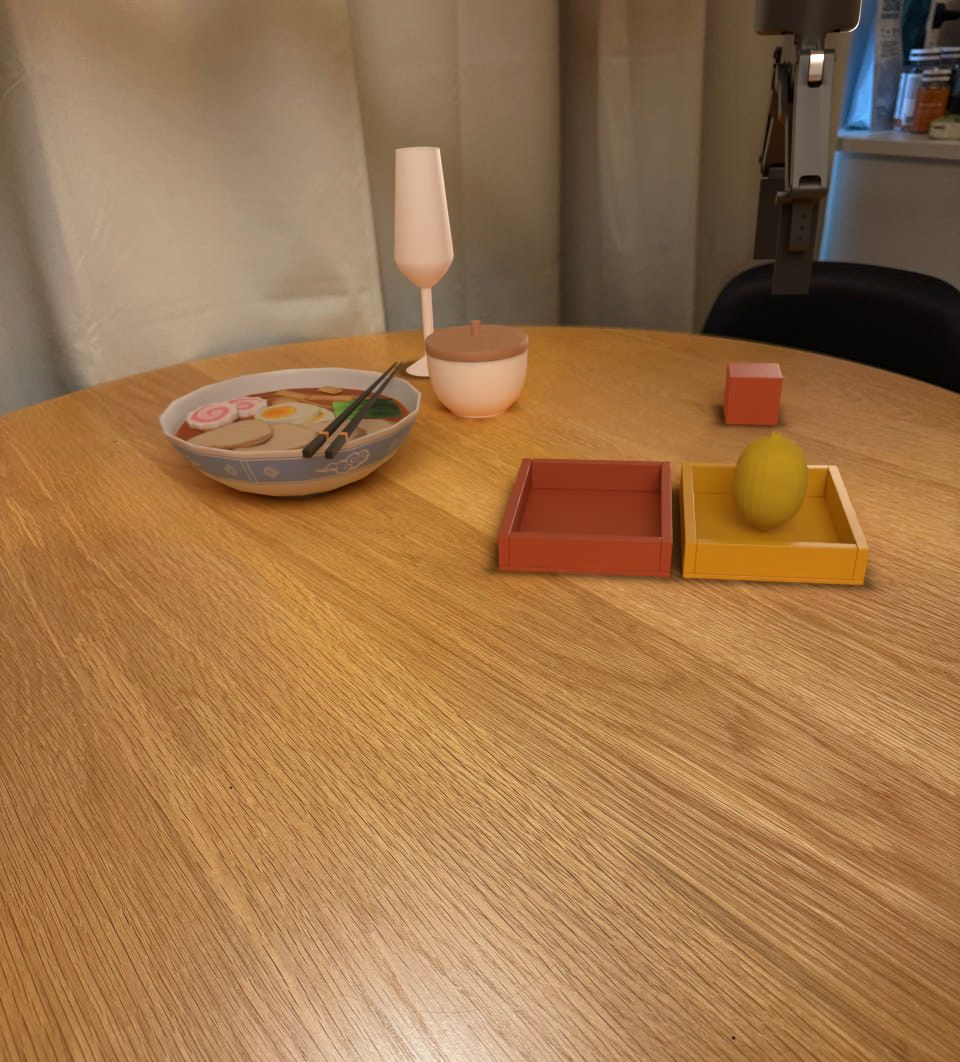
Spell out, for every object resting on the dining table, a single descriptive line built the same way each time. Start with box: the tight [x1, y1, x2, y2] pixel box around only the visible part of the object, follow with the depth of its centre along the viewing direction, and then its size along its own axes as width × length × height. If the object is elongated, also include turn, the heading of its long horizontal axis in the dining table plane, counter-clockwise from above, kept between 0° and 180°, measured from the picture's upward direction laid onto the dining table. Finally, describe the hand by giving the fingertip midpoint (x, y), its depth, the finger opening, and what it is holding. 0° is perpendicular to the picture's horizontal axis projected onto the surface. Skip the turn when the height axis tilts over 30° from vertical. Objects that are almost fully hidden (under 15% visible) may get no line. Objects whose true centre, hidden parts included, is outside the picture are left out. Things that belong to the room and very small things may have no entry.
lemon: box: [732, 431, 808, 531], centre depth 76 cm, size 6×6×8 cm
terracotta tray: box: [497, 457, 674, 578], centre depth 80 cm, size 13×16×3 cm
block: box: [722, 362, 784, 426], centre depth 101 cm, size 5×5×5 cm
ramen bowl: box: [157, 361, 422, 499], centre depth 89 cm, size 25×23×8 cm
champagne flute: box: [393, 146, 455, 377], centre depth 114 cm, size 7×7×24 cm
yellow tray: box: [679, 461, 871, 586], centre depth 78 cm, size 13×16×3 cm
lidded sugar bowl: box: [423, 319, 530, 419], centre depth 105 cm, size 11×11×9 cm
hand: (778, 275), depth 84 cm, fingers open, 13 cm apart
